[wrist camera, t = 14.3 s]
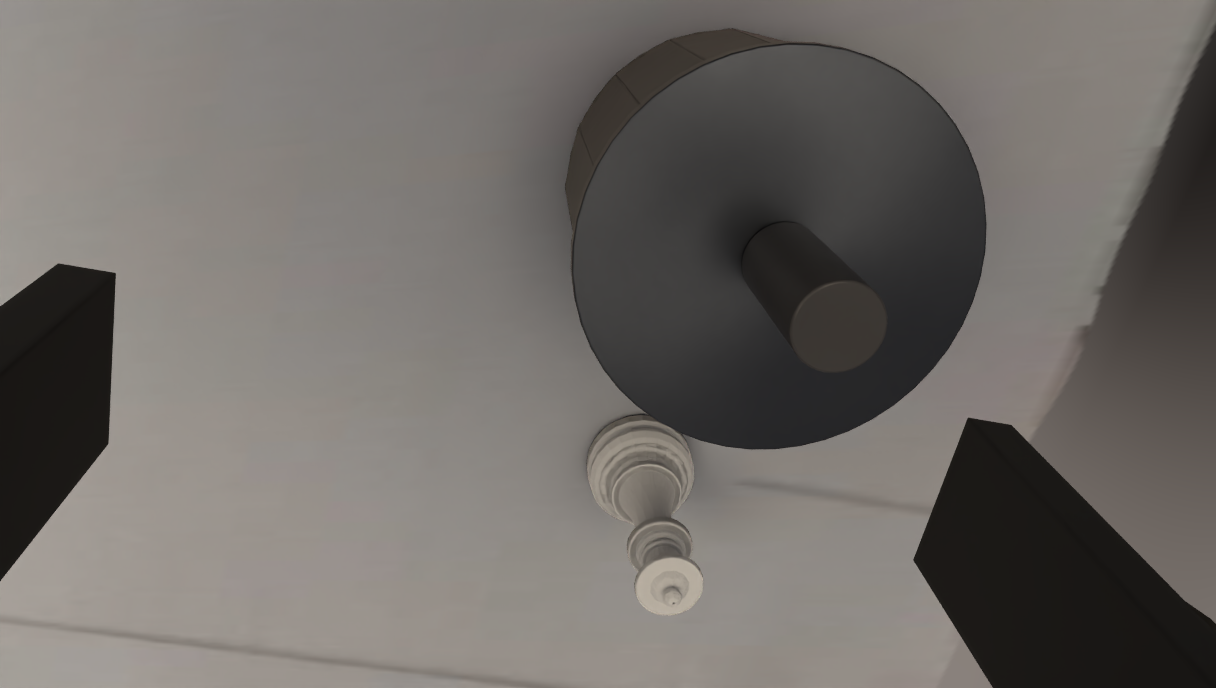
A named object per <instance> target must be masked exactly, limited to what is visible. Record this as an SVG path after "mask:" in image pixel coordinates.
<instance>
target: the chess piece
mask: <svg viewBox="0 0 1216 688" xmlns="http://www.w3.org/2000/svg"><path fill="white" fill-rule="evenodd" d="M586 464H587V473H588V480H589V483H590V485H591V491H592V493H593V495H594V498H595V500H596V502H597V503H598V504H599V505H600V507H601V508H602V509H603V510H604V511H605V512H607V513H608V514H610V515H611V516H612V517H614V518H616V519H619V520H622V521H625V522H628V523H631V524H634V525H635V527H636V528H635V529H634V530H633V531H632V532H631V534H630V536H629V538H628V543H627V553H628V558H629V560H630V563H631V565H632V566H633V567H634V568H635V569H636V570H637V571H638V574H637V575H636V579H635V583H634V585H635V593H636V596H637V598H638V600H639V602H640V603H641V604H642V605H643V607H644V608H646V609H647V610H649V611H650V612H652V613H655V614H658V615H667V616H668V615H676V614H679V613H682V612H684V611H686V610H688V609H689V608H691V607H692V606H693V605H694V604H695V603H696V602H697V601H698V599H699V597H700V596H701V594H702V590H703V576H702V573H701V570H700V568H699V567H698V566H697V564H696V563H695V562H694V561H692V560H691V559H690V558H691V555H692V551H693V544H692V539H691V536H690V534H689V531H688V530H687V529H686V527H685V526H684V525H683V524H681V523H680V522H678V521H677V520H674V519H672V518H671V515H672V514H673V513H674V512H675V511H676V510H677V509H678V508H679V507H680V506H681V505H682V504H683V503H684V502H685V501H686V499H687V497H688V495H689V493H690V491H691V490H692V485H693V481H694V465H693V463H692V456H691V453H690V450H689V448H688V445H687V442H686V440H685V438H684V437H683V436H682V434H681V433H680V432H677V431H675V430H674V429H672V428H670V427H668V426H666V425H664V424H662V423H661V422H659V421H657V420H655V419H654V418H653V417H651V416H645V415H638V416H629V417H626V418H623V419H620V420H617V421H615V422H613V423H612V424H610V425H609V426H607V427H606V428H604V429H603V430H602V431H601V432H600V434H599V435H598V436H597V437H596V438H595V439H594V441H593V443H592V445H591V447H590V449H589V452H588V458H587V463H586Z"/></svg>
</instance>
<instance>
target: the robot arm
mask: <svg viewBox="0 0 1216 688" xmlns="http://www.w3.org/2000/svg"><path fill="white" fill-rule="evenodd" d="M115 279H116V273H112V272H106V271H100V270H94V269H88V268H82V267H76V266H70V265H64V264H57V265H56V266H54V267H53V268H52V269H50V270H49V271H48V272H46V273H45V274H44V275H42V276H41V277H39V278H38V279H37V280H35V281H34V282H33V283H31V284H30V285H29V286H27V287H26V288H25V289H23V290H22V291H21V292H19V293H18V294H16V295H15V296H14V297H12V298H11V299H10V300H8V301H7V302H6V303H4V304H3V305H2V306H0V581H1V579H2V578H3V577H4V576H5V574H6V573H7V572H8V571H9V569H10V568H11V567H12V565H13V564H14V563H15V562H16V560H17V559H18V558H19V557H20V555H21V554H22V553H23V552H24V550H25V549H26V548H27V546H28V545H29V544H30V543H31V541H32V540H33V539H34V538H35V536H36V535H37V534H38V532H39V531H40V530H41V529H42V527H43V526H44V525H45V524H46V522H47V521H48V520H49V518H50V517H51V516H52V515H53V513H54V512H55V511H56V510H57V508H58V507H59V506H60V505H61V503H62V502H63V501H64V499H65V498H66V497H67V496H68V494H69V493H70V492H71V491H72V489H73V488H74V487H75V485H76V484H77V483H78V482H79V480H80V479H81V478H82V477H83V475H84V474H85V473H86V471H87V470H88V469H89V468H90V466H91V465H92V464H93V463H94V461H95V460H96V459H97V458H98V456H99V455H100V454H101V452H102V451H103V450H104V449H105V447H106V446H107V445H108V440H109V417H110V394H111V371H112V348H113V325H114V302H115ZM914 562H915V563H916V565H917V567H918V568H919V570H920V572H921V573H922V575H923V576H924V578H925V580H926V581H927V583H928V584H929V586H930V588H931V589H932V591H933V592H934V594H935V596H936V597H937V599H938V600H939V602H940V604H941V605H942V607H943V608H944V610H945V612H946V613H947V615H948V616H949V618H950V620H951V621H952V623H953V624H954V626H955V628H956V629H957V631H958V632H959V634H960V636H961V637H962V639H963V641H964V642H965V644H966V645H967V647H968V649H969V650H970V652H971V653H972V655H973V657H974V658H975V659H976V661H977V663H978V664H979V666H980V668H981V669H982V671H983V673H984V674H985V676H986V677H987V679H988V681H989V682H990V684H991V685H992V687H993V688H1216V624H1215V623H1214V622H1213V621H1212V620H1211V619H1210V618H1209V617H1207V616H1206V615H1204V614H1203V613H1201V612H1200V611H1198V610H1197V609H1196V608H1194V607H1193V606H1191V605H1190V604H1188V603H1187V602H1185V601H1184V600H1183V599H1182V598H1181V597H1180V596H1179V595H1178V594H1177V593H1176V592H1175V591H1174V590H1173V589H1172V588H1171V587H1170V586H1169V584H1168V583H1167V582H1166V581H1165V580H1163V578H1162V577H1160V575H1159V574H1158V573H1157V572H1156V571H1155V570H1154V569H1153V568H1152V567H1151V566H1150V565H1149V564H1148V563H1147V562H1146V561H1145V560H1144V559H1143V558H1142V557H1141V556H1140V555H1139V554H1138V553H1137V552H1136V551H1135V550H1134V549H1133V548H1132V547H1131V546H1130V545H1129V544H1128V543H1127V542H1126V541H1125V540H1124V539H1123V538H1122V537H1121V536H1120V535H1119V534H1118V533H1117V532H1116V531H1115V530H1114V529H1113V528H1112V527H1111V526H1110V525H1109V524H1108V523H1107V522H1106V521H1105V520H1104V519H1103V518H1102V517H1101V516H1100V515H1099V514H1098V513H1097V512H1096V510H1094V509H1093V508H1092V506H1091V505H1090V504H1088V502H1087V501H1086V500H1085V499H1084V498H1083V497H1082V496H1081V495H1080V494H1079V493H1078V492H1077V491H1076V490H1075V489H1074V488H1073V487H1072V486H1071V485H1070V484H1069V483H1068V482H1067V481H1066V480H1065V479H1064V478H1063V477H1062V476H1061V475H1060V474H1059V473H1058V472H1057V471H1056V470H1055V469H1054V468H1053V467H1052V466H1051V465H1050V464H1049V463H1048V462H1047V461H1046V460H1045V459H1044V458H1043V457H1042V456H1041V455H1040V454H1039V453H1038V452H1037V451H1036V450H1035V449H1034V448H1033V447H1032V446H1031V445H1030V444H1029V443H1028V442H1027V441H1026V440H1025V439H1024V438H1023V436H1022V435H1021V434H1020V433H1019V432H1018V431H1017V430H1016V429H1015V428H1014V427H1013V426H1012V425H1008V424H1002V423H996V422H990V421H984V420H978V419H973V418H968V419H967V422H966V424H965V427H964V429H963V432H962V435H961V437H960V440H959V442H958V445H957V448H956V450H955V453H954V455H953V458H952V461H951V463H950V466H949V468H948V471H947V474H946V476H945V479H944V482H943V484H942V487H941V489H940V492H939V495H938V497H937V500H936V502H935V505H934V508H933V510H932V513H931V515H930V518H929V521H928V523H927V526H926V528H925V531H924V534H923V536H922V539H921V541H920V544H919V547H918V549H917V552H916V554H915V557H914Z"/></svg>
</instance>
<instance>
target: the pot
mask: <svg viewBox="0 0 1216 688" xmlns="http://www.w3.org/2000/svg"><path fill="white" fill-rule="evenodd" d="M774 42H783V41H782V40H778V39H774V38H770V37H766V36H762V35H759V34H754V33H749V32H745V31H741V30H737V29H733V28H732V29H723V30H716V31H707V32H697V33H693V34H689V35H685V36H681V37H677V38H672V39H670V40H667V41H665V42H664V43H662V44H660V45H657V46H656V47H654V48H652V49H650V50H648V51H647V52H645V53H643V54H641V55H640V56H638V57H637V58H636V59H634V60H633V61H632V62H630V63H629V64H628V65H626V66H625V67H623V68H622V69H621V70H620V71H619V72H617V73H616V75H614V76H613V77H612V79H611V80H610V81H609V82H608V83H607V84H606V86H605V87H604V88H603V89H602V91H601V92H600V93H599V94H598V96H597V97H596V98H595V100H594V101H593V103H592V105H591V106H590V108H589V110H588V111H587V113H586V115H585V116H584V119H583V120H582V122H581V123H580V125H579V127H578V130H577V134H576V138H575V141H574V145H573V148H572V151H571V155H570V162H569V168H568V174H567V179H566V183H565V191H566V196H567V202H568V208H569V214H570V219H571V224H572V230H573V228H574V222H575V215H576V212H577V208H578V205H579V202H580V198H581V195H582V192H583V188H584V186H585V184H586V181H587V179H588V177H589V175H590V172H591V170H592V168H593V166H594V164H595V161H596V160H597V158H598V157H599V155H600V153H601V152H602V150H603V148H604V147H605V145H606V144H607V142H608V140H609V139H610V137H611V136H612V135H613V133H614V132H615V131H616V130H617V128H618V127H619V126H620V125H621V124H622V122H623V121H624V120H625V119H626V117H627V116H628V115H629V114H630V113H631V112H632V111H633V110H634V109H635V108H636V107H637V106H638V105H639V104H640V103H641V102H642V101H643V100H645V99H646V98H647V97H648V96H649V95H650V94H651V93H652V92H654V91H655V90H656V89H658V88H659V87H661V86H662V85H663V84H665V83H666V82H667V81H669V80H670V79H671V78H673V77H674V76H676V75H678V74H680V73H681V72H683V71H685V70H687V69H689V68H690V67H692V66H694V65H696V64H698V63H700V62H702V61H704V60H707V59H710V58H712V57H715V56H717V55H720V54H722V53H725V52H727V51H731V50H735V49H739V48H743V47H747V46H751V45H756V44H764V43H774Z"/></svg>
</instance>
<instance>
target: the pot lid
mask: <svg viewBox="0 0 1216 688" xmlns="http://www.w3.org/2000/svg"><path fill="white" fill-rule="evenodd" d="M985 245H986V214H985V202H984V195H983V191H982V187H981V182H980V178H979V173H978V170H977V168H976V165H975V163H974V160H973V157H972V155H971V152H970V150H969V147H968V145H967V144H966V142H965V140H964V138H963V137H962V135H961V133H960V131H959V130H958V128H957V126H956V124H955V123H954V122H953V120H952V119H951V118H950V117H949V115H948V114H947V113H946V111H945V110H944V109H943V108H942V106H941V105H940V104H939V103H938V102H937V101H936V100H935V99H934V98H933V97H932V96H931V95H930V94H929V93H928V92H927V91H926V90H925V89H923V88H922V87H921V86H920V85H919V84H918V83H916V82H915V81H913V80H912V79H910V78H909V77H908V76H906V75H905V74H903V73H902V72H900V71H899V70H897V69H895V68H893V67H891V66H889V65H887V64H885V63H883V62H881V61H879V60H877V59H875V58H873V57H870V56H867V55H864V54H861V53H858V52H855V51H852V50H849V49H846V48H843V47H838V46H832V45H827V44H821V43H815V42H791V41H783V42H774V43H764V44H756V45H751V46H747V47H743V48H739V49H735V50H731V51H727V52H725V53H722V54H720V55H717V56H715V57H712V58H710V59H707V60H704V61H702V62H700V63H698V64H696V65H694V66H692V67H690V68H689V69H687V70H685V71H683V72H681V73H680V74H678V75H676V76H674V77H673V78H671V79H670V80H669V81H667V82H666V83H665V84H663V85H662V86H661V87H659V88H658V89H656V90H655V91H654V92H652V93H651V94H650V95H649V96H648V97H647V98H646V99H645V100H643V101H642V102H641V103H640V104H639V105H638V106H637V107H636V108H635V109H634V110H633V111H632V112H631V113H630V114H629V115H628V116H627V117H626V119H625V120H624V121H623V122H622V124H621V125H620V126H619V127H618V128H617V130H616V131H615V132H614V133H613V135H612V136H611V137H610V139H609V140H608V142H607V144H606V145H605V147H604V148H603V150H602V152H601V153H600V155H599V157H598V158H597V160H596V161H595V164H594V166H593V168H592V170H591V172H590V175H589V177H588V179H587V181H586V184H585V186H584V188H583V192H582V195H581V198H580V202H579V205H578V208H577V212H576V215H575V222H574V228H573V234H572V240H571V275H572V284H573V292H574V298H575V302H576V306H577V310H578V314H579V318H580V322H581V325H582V328H583V330H584V333H585V335H586V337H587V340H588V342H589V345H590V347H591V349H592V351H593V352H594V354H595V356H596V358H597V359H598V361H599V363H600V364H601V366H602V368H603V369H604V371H605V372H606V373H607V375H608V376H609V377H610V378H611V380H612V381H613V382H614V383H615V385H616V386H617V387H618V388H619V390H621V391H622V392H623V393H624V394H625V395H626V396H627V397H628V398H629V399H630V400H631V401H632V402H633V403H634V404H635V405H636V406H637V407H639V408H640V409H642V410H643V411H644V412H646V413H647V414H649V415H650V416H651V417H653V418H654V419H655V420H657V421H659V422H661V423H662V424H664V425H666V426H668V427H670V428H672V429H674V430H675V431H677V432H680V433H682V434H685V435H688V436H690V437H693V438H695V439H698V440H701V441H705V442H709V443H713V444H717V445H721V446H725V447H734V448H743V449H780V448H788V447H796V446H802V445H806V444H810V443H814V442H818V441H822V440H826V439H829V438H831V437H834V436H837V435H839V434H842V433H845V432H847V431H850V430H852V429H854V428H856V427H858V426H860V425H862V424H864V423H866V422H868V421H870V420H872V419H873V418H875V417H876V416H878V415H879V414H881V413H882V412H884V411H886V410H887V409H889V408H890V407H892V406H893V405H895V404H896V403H897V402H898V401H899V400H901V399H902V398H903V397H904V396H905V395H907V394H908V393H909V392H910V391H912V390H913V389H914V388H915V387H916V386H917V385H918V384H919V383H920V382H921V381H922V380H923V379H924V378H925V377H926V376H927V375H928V373H929V372H930V371H931V370H932V369H933V368H934V367H935V365H936V364H937V363H938V362H939V360H940V359H941V358H942V356H943V355H944V354H945V352H946V351H947V350H948V348H949V347H950V345H951V344H952V342H953V340H954V339H955V337H956V335H957V333H958V332H959V330H960V328H961V327H962V325H963V323H964V320H965V318H966V316H967V314H968V312H969V309H970V307H971V305H972V303H973V300H974V297H975V293H976V290H977V287H978V284H979V280H980V277H981V272H982V266H983V261H984V255H985Z"/></svg>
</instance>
